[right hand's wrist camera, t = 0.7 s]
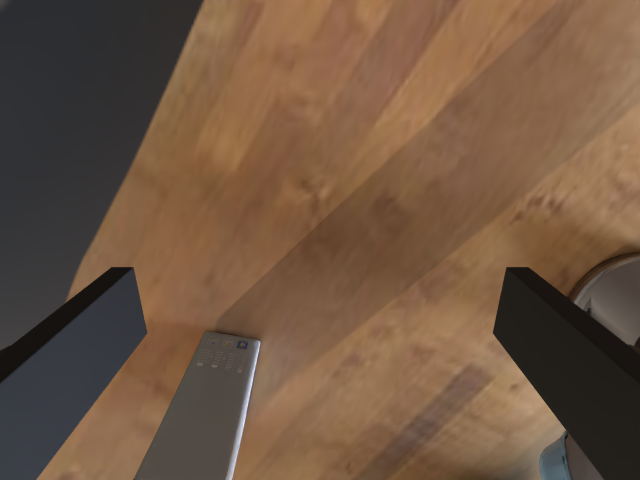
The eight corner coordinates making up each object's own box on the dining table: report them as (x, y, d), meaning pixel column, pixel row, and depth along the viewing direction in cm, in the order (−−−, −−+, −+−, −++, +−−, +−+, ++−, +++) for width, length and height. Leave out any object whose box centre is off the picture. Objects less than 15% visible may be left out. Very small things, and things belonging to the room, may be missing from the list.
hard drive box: (204, 328, 47) (131, 478, 28) (261, 337, 47) (226, 490, 29) (194, 414, 52) (128, 586, 34) (246, 421, 53) (209, 594, 34)
